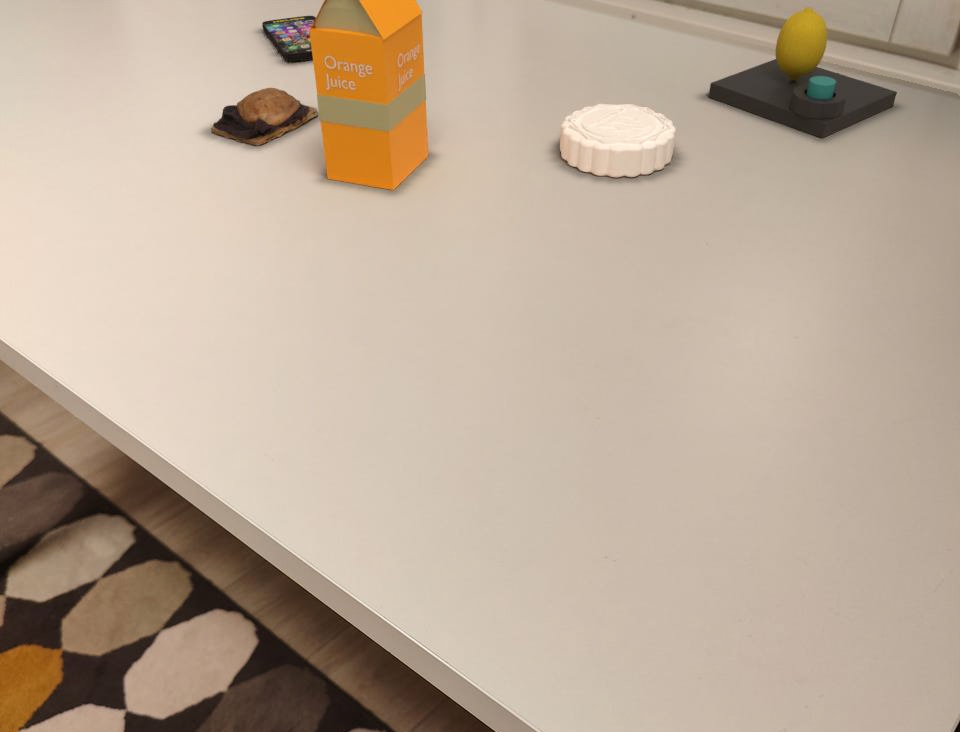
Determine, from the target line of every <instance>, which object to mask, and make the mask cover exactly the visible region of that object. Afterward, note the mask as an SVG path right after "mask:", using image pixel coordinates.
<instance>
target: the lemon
mask: <svg viewBox="0 0 960 732" xmlns="http://www.w3.org/2000/svg"><path fill="white" fill-rule="evenodd" d="M827 42H828V28H827V24H826V21H825V20H824V18H823V17H822V16H821V15H820V14H819V13H818V12H816V11H814V10H813V8H812V7H805V8H804V9H803V10H802V9H801V10H799V11H797V12H794V13H793V14H792V15H790V16H788V18H787V19H786V20H785V21H784V23H783V25H782V26H781V29H780V31H779V33H778V36H777V40H776V45H775V59H776V61H777V63H778V65H779V67H780V69H781V70H782V71H783V72H784V73H786V74H788V75H789V77H790V78H791V80H797V79H798V78H799V77H801V76H802V75H806V74H808V73H810V72H811V71H813V70H814V69H815V68H816V67H819V64H820V63H821V61H822V60H823V57H824V55H825V53H826V48H827V44H828V43H827Z"/></svg>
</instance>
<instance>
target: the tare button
mask: <svg viewBox="0 0 960 732" xmlns="http://www.w3.org/2000/svg"><path fill="white" fill-rule="evenodd" d="M835 85H836V81H835V80H834V79H833V78H830V77H826V76H815V77H812V78H810V80H809V84H808V89H807V93H806V95H807V96H809V97H812V98H817V99H831V98H832V97H833V93H834V89H835Z"/></svg>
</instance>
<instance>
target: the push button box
mask: <svg viewBox="0 0 960 732" xmlns="http://www.w3.org/2000/svg"><path fill="white" fill-rule="evenodd" d="M815 76H826V77H830V78H833V79H834V80H835V81H836V85H835V89H834V93H833V97H832V98H831V99H817V98H812V97H809V96H807V95H806V93H807V89H808V84H809V80H810V78H812V77H815ZM897 94H898V92H897V91H895V90H893V89H889V88H886V87H883V86H880V85H876V84H873V83H870V82H868V81H867V82H866V81H864V80H861V79H857V78H854V77H852V76H851V77H850V76H848V75H845V74H841V73H839V72H835V71H831V70H828V69H825V68H822V67H819V66H817V67H816V68H815V69H814V70H813V71H811V72H810V73H808V74H806V75H802V76H801V77H799V78H798V79H797V80H791V78H790V77H789V75H788V74H786V73H784V72H783V71H782V70H781V69H780V67H779V65H778V63H777V61H776V58H775V59H771V60H769V61H766V62H763V63H761V64H759V65H755V66H753V67H750V68H748V69H745V70H742V71H739V72H738V73H734V74H731V75H729V76H726V77H723V78H721V79H718V80H715V81H713V82H710V84H709V91H708V98H709V99H712V100H714V101H715V100H716V101H718V102H720V103H724V104H727V105H729V106H732V107H735V108H738V109H740V110H742V111H746V112H748V113H751V114H754V115H757V116H759V117H763V118H765V119H768V120H770V121H773V122H775V123H779V124H782V125H784V126H787V127H789V128H793V129H795V130H798V131H801V132H803V133H806V134H808V135H812V136H815V137H818V138H821V139H824V138H826V137H828V136H830V135H833V134H835V133H837V132H840V131H842V130H843V129H846V128H848V127H851V126H852V125H855V124H857V123H860V122H861V121H863V120H866V119H868V118H870V117H873V116H875V115H876V114H879V113H882V112H883V111H886V110H888V109H890V108H892V107H894V103H895V101H896V97H897Z"/></svg>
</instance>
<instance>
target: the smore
mask: <svg viewBox="0 0 960 732" xmlns="http://www.w3.org/2000/svg"><path fill="white" fill-rule="evenodd" d="M300 101H301V100H299V99H297V98H296V97H294V96H293V95H291V94H289V93H288V92H287V91H285V90H282V89H279V88H275V87H265V88H263V89H260V90H257V91H253V92H251V93H248V95H246V96H245V97H243V98H242V99H241V100H240V101H238V102H237V103H236V104H233V105H231V104H230V105H226V106H224V107H223V108H222V113H221V118H219V119H218V121H216V122H213V124H212V126H211V127H210V130H211V133H213V134H214V136H215V135H219V136H221V137H224V138H226V139H233V140H235V141H236V142H238V143H239V142H240V143H241V142H243V143H245V144H249V145H252V146H257V147H259V146H260V145H264V144H265V143H269V142H271V141H272V140H275V138H278V137H279V138H280V137H282V135H284V134H285V132H288V131H291V130H296V129H297V128H299V127H300V126H301V125H302V124H305V123H306V122H308V121H309V120H311V119H313V118H315V117H318V115H319V112H318V110H317V108H316V107H313V106H311V105H305V104H302V103H301V102H300Z"/></svg>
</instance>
